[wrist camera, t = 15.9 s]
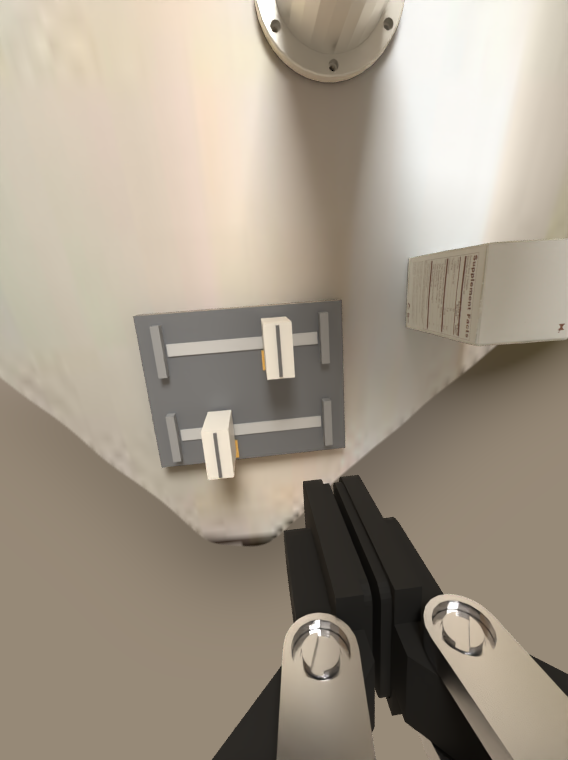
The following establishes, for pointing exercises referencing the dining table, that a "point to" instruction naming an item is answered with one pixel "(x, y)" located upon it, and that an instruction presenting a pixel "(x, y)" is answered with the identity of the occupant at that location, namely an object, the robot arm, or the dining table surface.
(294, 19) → the robot arm
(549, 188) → the dining table surface
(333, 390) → the console
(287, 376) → the block
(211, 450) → the block
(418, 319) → the supplement box
